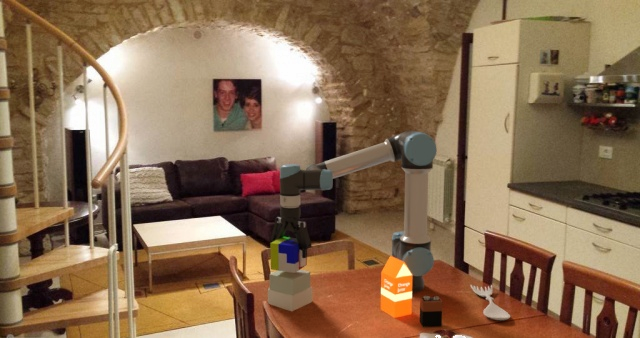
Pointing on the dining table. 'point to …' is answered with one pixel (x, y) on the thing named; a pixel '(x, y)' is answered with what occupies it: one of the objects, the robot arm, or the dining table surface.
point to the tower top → (289, 281)
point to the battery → (431, 311)
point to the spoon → (491, 305)
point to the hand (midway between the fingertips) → (290, 263)
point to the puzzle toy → (286, 255)
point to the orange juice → (396, 288)
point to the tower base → (290, 299)
